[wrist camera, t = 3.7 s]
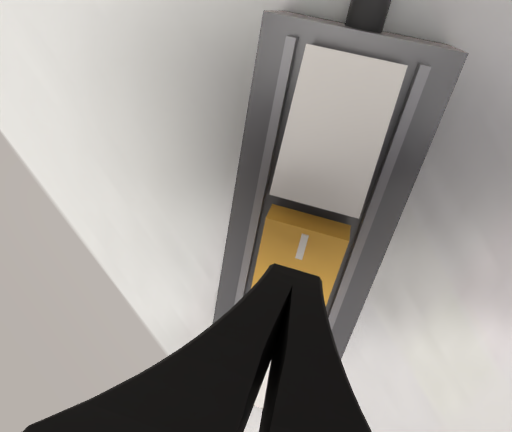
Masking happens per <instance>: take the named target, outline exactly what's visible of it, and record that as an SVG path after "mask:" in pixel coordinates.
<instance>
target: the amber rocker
mask: <svg viewBox="0 0 512 432" xmlns="http://www.w3.org/2000/svg"><path fill="white" fill-rule="evenodd" d="M350 229H351V225H348V224H344V223H340V222H337V221H333V220H329V219H326V218H322V217H318V216H315V215H311V214H308V213H304V212H300V211H297V210H293V209H289V208H286V207H282V206H278V205H275V204H272V205H271V208H270V210H269V212H268V214H267V216H266V219H265V224H264V228H263V233H262V238H261V243H260V248H259V252H258V257H257V262H256V267H255V271H254V276H253V281H252V286H251V288H252V287H253V286H254V285H255V284H256V283H257V282H258V280H259V279H260V278H261V277H262V276H263V274H264V273H265V272H266V270H267V269H268V267H269V265H272V264H274V263H275V264H279V265H282V266H286V267H289V268H292V269H296V270H299V271H303V272H306V273H309V274H313V275H316V276H319V277H320V279H321V280H322V287H323V295H324V301H325V306H326V304H327V302H328V299H329V296H330V293H331V291H332V288H333V285H334V282H335V280H336V277H337V274H338V271H339V268H340V266H341V263H342V260H343V257H344V255H345V252H346V249H347V246H348V243H349V239H350Z"/></svg>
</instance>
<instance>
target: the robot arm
mask: <svg viewBox="0 0 512 432" xmlns="http://www.w3.org/2000/svg"><path fill="white" fill-rule="evenodd" d="M270 362H271V364H270ZM269 364H270V370H269V376H268V382H267V388H266V393H265V399H264V405H263V411H262V417H261V423H260V429H259V432H372V431H371V429H370V427H369V425H368V423H367V421H366V419H365V417H364V415H363V413H362V411H361V409H360V406H359V404H358V402H357V400H356V397H355V395H354V393H353V391H352V388H351V386H350V383H349V381H348V378H347V376H346V373H345V370H344V367H343V365H342V362H341V359H340V356H339V353H338V350H337V347H336V344H335V341H334V337H333V334H332V330H331V327H330V323H329V319H328V315H327V311H326V306H325V301H324V295H323V287H322V280H321V279H320V277H319V276H316V275H313V274H309V273H306V272H303V271H299V270H296V269H292V268H289V267H286V266H282V265H279V264H275V263H274V264H272V265H269V267H268V269H267V270H266V272H265V273H264V274H263V276H262V277H261V278H260V279H259V280H258V282H257V283H256V284H255V285H254V286H253V287H252V288H251V289H250V290H249V291H248V292H247V293H246V294H245V295H244V296H243V297H242V298H241V299H240V300H239V301H238V302H237V303H236V304H235V305H234V306H233V307H232V308H231V309H230V310H229V311H228V312H226V313H225V314H224V315H223V316H222V317H221V318H219V319H218V320H217V321H216V322H215V323H214V324H212V325H211V326H210V327H209V328H207V329H206V330H205V331H204V332H202V333H201V334H200V335H198V336H197V337H196V338H194V339H193V340H191V341H190V342H189V343H187V344H186V345H184V346H183V347H182V348H180V349H179V350H177V351H176V352H174V353H172V354H171V355H169V356H168V357H166V358H165V359H163V360H162V361H160V362H158V363H157V364H155V365H153V366H152V367H150V368H148V369H147V370H145V371H143V372H141V373H140V374H138V375H136V376H134V377H132V378H130V379H128V380H126V381H124V382H123V383H121V384H119V385H117V386H115V387H113V388H111V389H109V390H107V391H105V392H103V393H101V394H100V395H97V396H95V397H93V398H91V399H89V400H87V401H85V402H82V403H80V404H78V405H76V406H73V407H71V408H68V409H66V410H64V411H62V412H59V413H57V414H55V415H52V416H50V417H48V418H45V419H44V420H41V421H38V422H36V423H34V424H31V425H29V426H28V427H27V428H26V429H25V430H24V431H23V432H244V429H245V426H246V424H247V421H248V419H249V416H250V413H251V411H252V408H253V406H254V403H255V401H256V398H257V395H258V393H259V390H260V388H261V385H262V382H263V380H264V377H265V375H266V372H267V369H268V367H269Z"/></svg>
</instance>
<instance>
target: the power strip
mask: <svg viewBox="0 0 512 432" xmlns="http://www.w3.org/2000/svg"><path fill="white" fill-rule="evenodd" d="M390 3H391V0H351V3H350V7H349V11H348V15H347V19H346V23H340V22H336V21H331V20H326V19H321V18H316V17H311V16H307V15H302V14H297V13H292V12H287V11H264V12H263V18H262V24H261V30H260V36H259V42H258V49H257V55H256V61H255V67H254V73H253V79H252V86H251V92H250V98H249V104H248V110H247V116H246V122H245V129H244V135H243V141H242V147H241V153H240V159H239V166H238V172H237V178H236V184H235V190H234V196H233V203H232V209H231V215H230V221H229V227H228V233H227V240H226V246H225V252H224V258H223V264H222V270H221V277H220V283H219V289H218V295H217V301H216V307H215V314H214V320H213V324H214V323H215V322H216V321H217V320H218V319H219V318H221V317H222V316H223V315H224V314H225V313H226V312H228V311H229V310H230V309H231V308H232V307H233V306H234V305H235V304H236V303H237V302H238V301H239V300H240V299H241V298H242V297H243V296H244V295H245V294H246V293H247V292H248V291H249V290H250V289H251V286H252V281H253V276H254V271H255V267H256V262H257V257H258V252H259V248H260V243H261V238H262V233H263V228H264V224H265V219H266V216H267V214H268V212H269V210H270V208H271V205H272V204H275V205H278V206H282V207H286V208H289V209H293V210H297V211H300V212H304V213H308V214H311V215H315V216H318V217H322V218H326V219H329V220H333V221H337V222H340V223H344V224H348V225H351V229H350V239H349V243H348V246H347V249H346V252H345V255H344V257H343V260H342V263H341V266H340V268H339V271H338V274H337V277H336V280H335V282H334V285H333V288H332V291H331V293H330V296H329V299H328V302H327V304H326V311H327V315H328V319H329V323H330V327H331V330H332V334H333V337H334V341H335V344H336V347H337V350H338V353H339V356H340V359H341V358H342V356H343V353H344V351H345V348H346V346H347V344H348V341H349V339H350V336H351V334H352V332H353V329H354V327H355V324H356V322H357V320H358V317H359V315H360V312H361V310H362V308H363V305H364V303H365V300H366V298H367V296H368V293H369V291H370V288H371V286H372V284H373V281H374V279H375V276H376V274H377V272H378V269H379V267H380V264H381V262H382V260H383V257H384V255H385V252H386V250H387V248H388V245H389V243H390V240H391V238H392V236H393V233H394V231H395V228H396V226H397V224H398V221H399V219H400V216H401V214H402V212H403V209H404V207H405V204H406V202H407V200H408V197H409V195H410V192H411V190H412V188H413V185H414V183H415V180H416V178H417V176H418V173H419V171H420V168H421V166H422V164H423V161H424V159H425V156H426V154H427V152H428V149H429V147H430V144H431V142H432V140H433V137H434V135H435V132H436V130H437V128H438V125H439V123H440V120H441V118H442V116H443V113H444V111H445V108H446V106H447V104H448V101H449V99H450V96H451V94H452V92H453V89H454V87H455V84H456V82H457V80H458V77H459V75H460V72H461V70H462V68H463V65H464V63H465V60H466V58H467V56H468V53H467V52H464V51H462V50H459V49H457V48H455V47H452V46H450V45H447V44H442V43H437V42H433V41H428V40H423V39H418V38H413V37H408V36H403V35H399V34H394V33H389V32H384V31H382V29H383V26H384V22H385V19H386V16H387V13H388V9H389V6H390ZM306 44H311V45H315V46H320V47H324V48H329V49H334V50H338V51H343V52H348V53H352V54H357V55H361V56H366V57H371V58H375V59H380V60H385V61H389V62H394V63H399V64H403V65H408V67H407V70H406V73H405V76H404V79H403V82H402V86H401V89H400V92H399V95H398V98H397V101H396V104H395V108H394V111H393V114H392V117H391V120H390V123H389V126H388V130H387V133H386V136H385V139H384V142H383V145H382V148H381V152H380V155H379V158H378V161H377V164H376V167H375V170H374V174H373V177H372V180H371V183H370V186H369V189H368V192H367V195H366V199H365V202H364V205H363V208H362V211H361V214H360V217H359V219H358V218H354V217H350V216H347V215H343V214H339V213H336V212H332V211H328V210H325V209H321V208H317V207H314V206H310V205H306V204H303V203H299V202H295V201H291V200H288V199H284V198H280V197H277V196H273V195H269V193H270V189H271V185H272V181H273V177H274V173H275V169H276V165H277V161H278V157H279V152H280V148H281V144H282V140H283V136H284V132H285V128H286V124H287V120H288V116H289V112H290V108H291V104H292V99H293V95H294V91H295V87H296V83H297V79H298V75H299V71H300V67H301V63H302V59H303V55H304V51H305V46H306Z"/></svg>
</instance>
